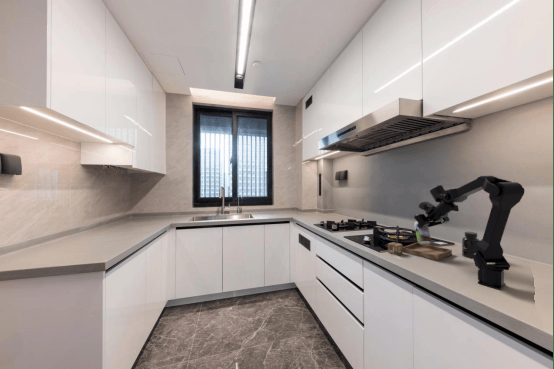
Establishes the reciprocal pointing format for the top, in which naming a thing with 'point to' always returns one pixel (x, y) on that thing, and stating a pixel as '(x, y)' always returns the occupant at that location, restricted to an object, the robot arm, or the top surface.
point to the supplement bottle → (468, 243)
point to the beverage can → (422, 234)
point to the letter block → (395, 248)
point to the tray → (427, 251)
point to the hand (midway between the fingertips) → (421, 227)
